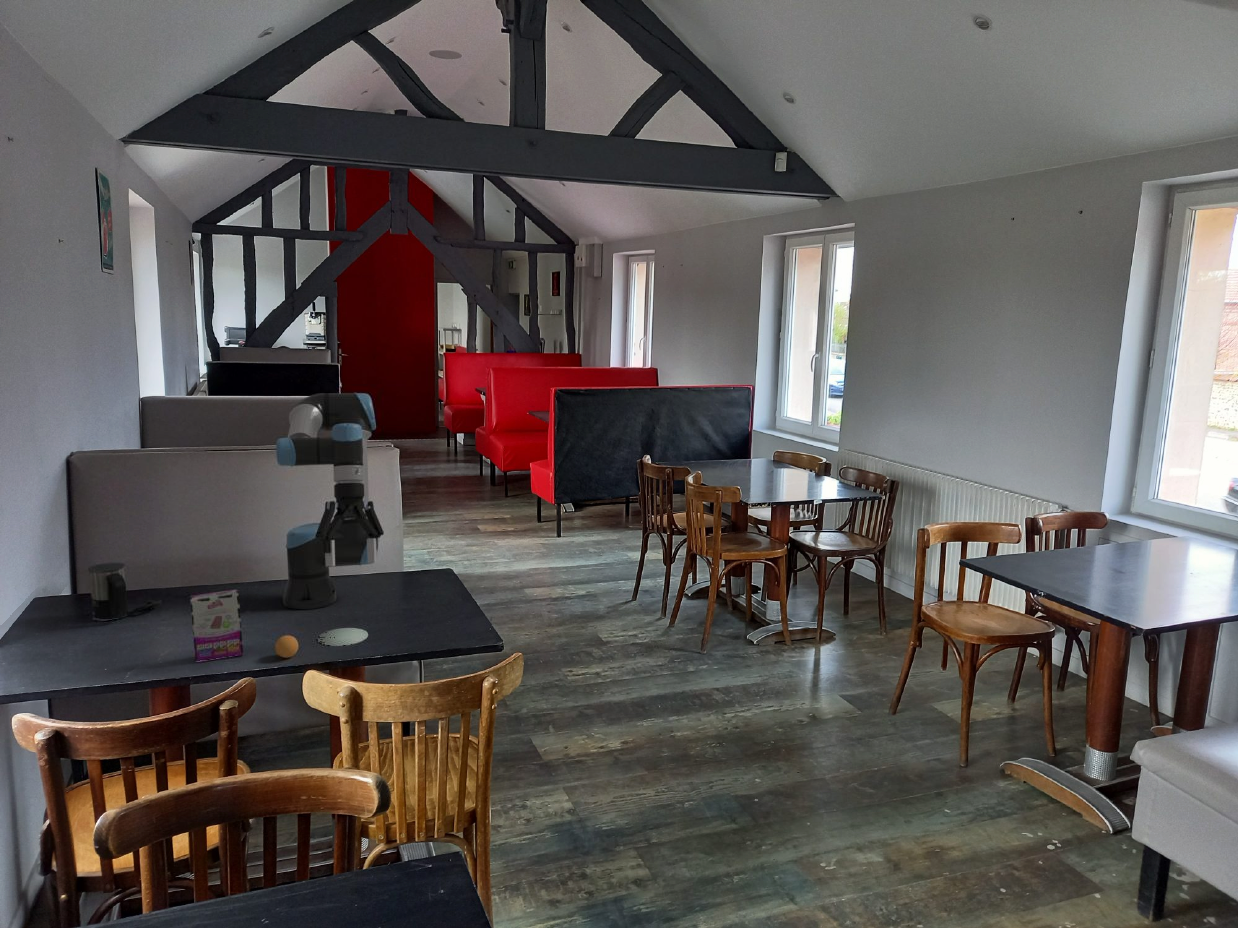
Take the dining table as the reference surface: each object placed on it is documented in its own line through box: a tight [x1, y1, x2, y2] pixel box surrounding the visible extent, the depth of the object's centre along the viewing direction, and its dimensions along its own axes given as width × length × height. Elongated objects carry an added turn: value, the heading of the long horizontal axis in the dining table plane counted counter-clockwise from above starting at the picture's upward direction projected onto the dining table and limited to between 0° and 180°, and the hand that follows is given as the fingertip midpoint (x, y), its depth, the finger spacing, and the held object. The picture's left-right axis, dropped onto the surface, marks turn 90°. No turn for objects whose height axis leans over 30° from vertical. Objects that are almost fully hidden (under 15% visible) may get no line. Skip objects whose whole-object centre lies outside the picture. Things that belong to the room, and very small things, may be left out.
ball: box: [274, 634, 299, 659], centre depth 220 cm, size 6×6×6 cm
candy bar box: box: [189, 589, 244, 661], centre depth 219 cm, size 11×5×16 cm, turn 117°
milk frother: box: [87, 562, 162, 619], centre depth 249 cm, size 14×16×15 cm
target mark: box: [317, 627, 369, 647], centre depth 234 cm, size 13×13×1 cm
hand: (351, 564), depth 225 cm, fingers open, 13 cm apart
